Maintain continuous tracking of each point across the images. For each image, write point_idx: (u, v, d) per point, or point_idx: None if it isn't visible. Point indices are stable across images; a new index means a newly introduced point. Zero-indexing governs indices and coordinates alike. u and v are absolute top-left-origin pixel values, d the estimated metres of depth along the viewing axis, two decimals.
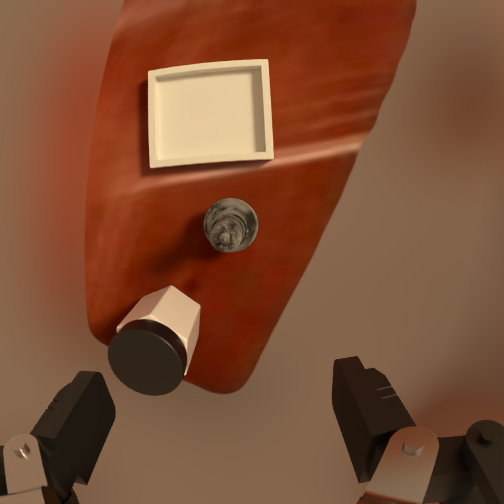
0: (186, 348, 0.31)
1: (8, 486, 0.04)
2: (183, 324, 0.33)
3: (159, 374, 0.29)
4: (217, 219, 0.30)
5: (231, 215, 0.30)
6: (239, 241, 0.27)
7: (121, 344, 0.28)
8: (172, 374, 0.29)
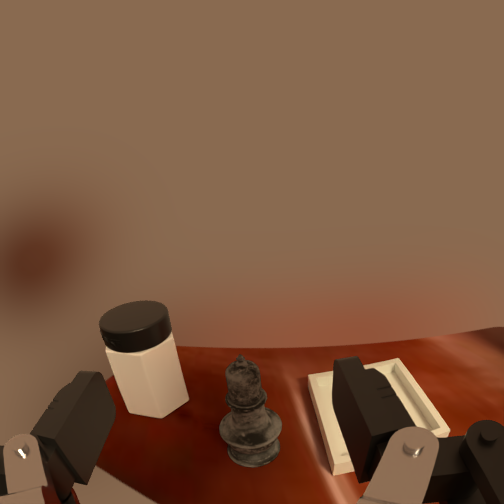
0: (132, 354, 0.29)
1: (8, 486, 0.04)
2: (153, 369, 0.31)
3: (120, 320, 0.31)
4: None
5: (264, 397, 0.25)
6: (236, 378, 0.23)
7: (156, 306, 0.35)
8: (116, 326, 0.30)
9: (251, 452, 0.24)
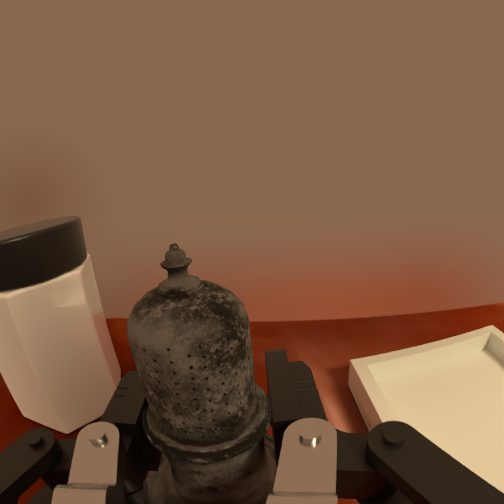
0: None
1: (71, 474, 0.05)
2: (36, 331, 0.13)
3: None
4: None
5: (264, 416, 0.07)
6: (152, 336, 0.06)
7: (64, 219, 0.17)
8: None
9: None
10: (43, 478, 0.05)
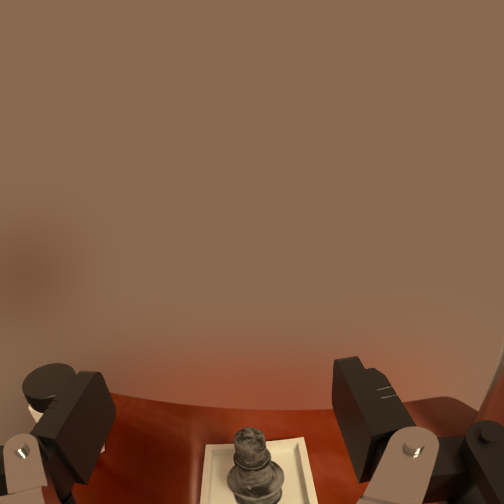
0: None
1: (8, 486, 0.04)
2: None
3: (36, 384, 0.29)
4: None
5: (268, 458, 0.24)
6: (244, 447, 0.23)
7: (67, 372, 0.32)
8: (31, 391, 0.28)
9: (256, 501, 0.24)
10: None
